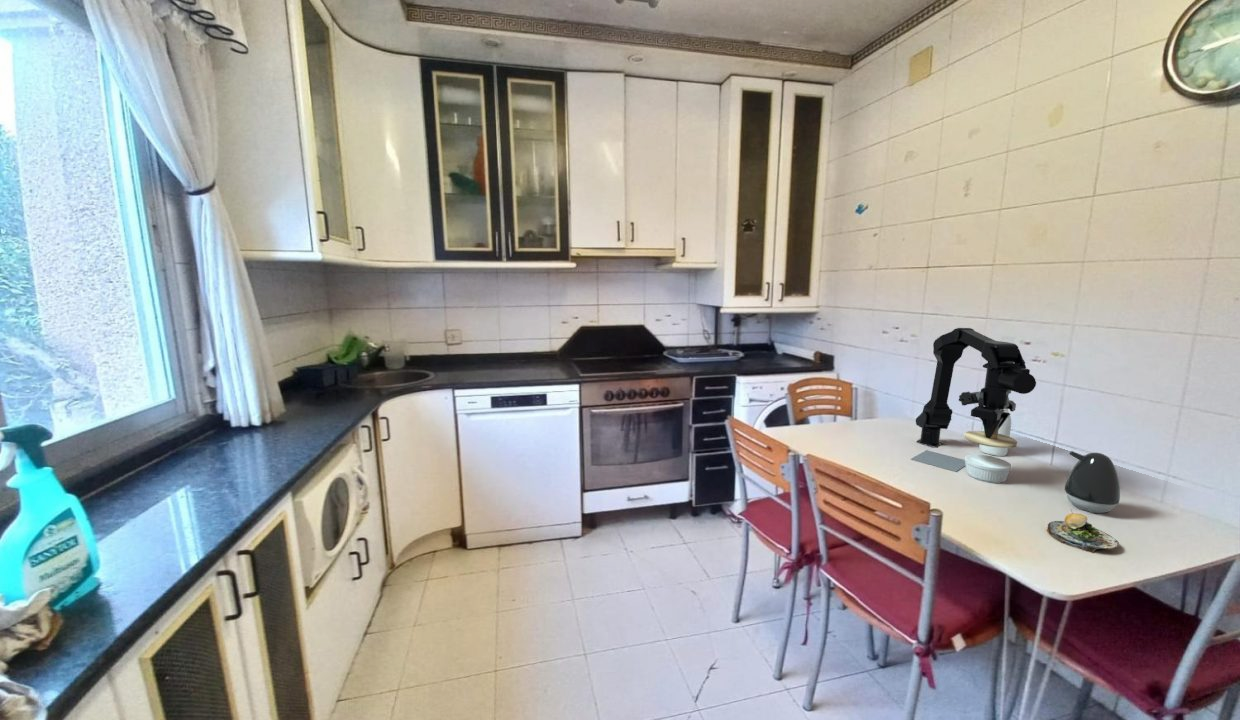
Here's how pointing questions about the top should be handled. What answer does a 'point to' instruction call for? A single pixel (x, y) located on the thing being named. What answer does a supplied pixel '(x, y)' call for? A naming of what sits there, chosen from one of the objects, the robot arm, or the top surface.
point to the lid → (991, 439)
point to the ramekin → (987, 468)
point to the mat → (940, 460)
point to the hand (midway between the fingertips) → (990, 436)
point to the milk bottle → (1003, 430)
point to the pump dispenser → (1093, 483)
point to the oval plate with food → (1080, 534)
